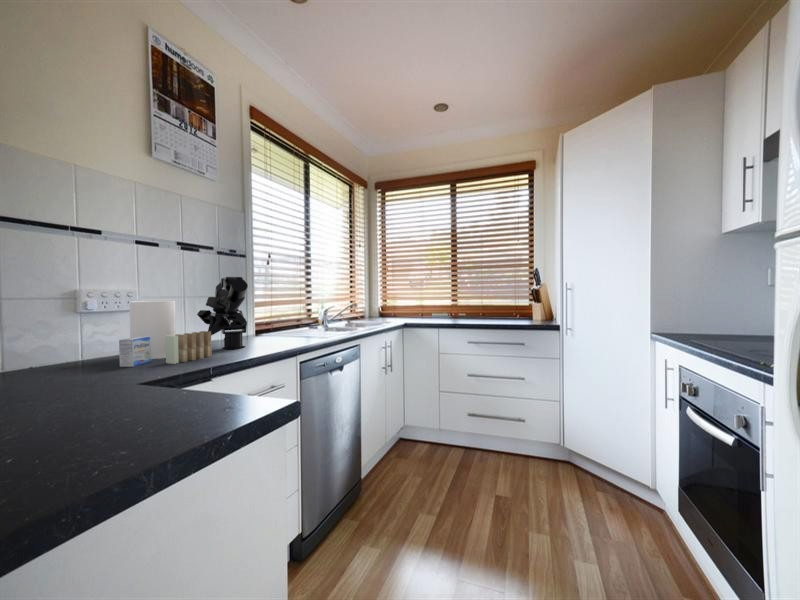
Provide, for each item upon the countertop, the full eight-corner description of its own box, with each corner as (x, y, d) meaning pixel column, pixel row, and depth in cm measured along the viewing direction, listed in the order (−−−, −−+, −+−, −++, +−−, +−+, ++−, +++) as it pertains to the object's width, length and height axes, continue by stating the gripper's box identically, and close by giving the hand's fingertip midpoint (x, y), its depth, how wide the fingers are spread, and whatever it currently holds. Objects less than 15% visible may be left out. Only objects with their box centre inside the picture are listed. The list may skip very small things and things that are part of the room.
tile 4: (179, 360, 121) (178, 334, 121) (187, 361, 120) (187, 334, 120) (175, 361, 120) (174, 334, 120) (183, 362, 119) (183, 335, 118)
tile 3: (187, 358, 124) (187, 333, 124) (196, 359, 123) (195, 333, 123) (183, 359, 123) (183, 333, 123) (192, 360, 122) (191, 334, 121)
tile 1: (203, 355, 130) (202, 331, 130) (211, 356, 129) (210, 331, 128) (200, 356, 129) (199, 331, 129) (208, 357, 128) (207, 332, 127)
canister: (176, 357, 128) (175, 301, 127) (129, 361, 120) (128, 302, 119) (175, 351, 139) (174, 300, 138) (131, 355, 131) (130, 301, 131)
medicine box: (133, 367, 111) (132, 339, 111) (119, 367, 111) (118, 339, 111) (151, 362, 119) (150, 336, 119) (138, 362, 119) (137, 336, 119)
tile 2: (195, 357, 127) (195, 332, 127) (204, 357, 126) (203, 332, 126) (192, 357, 126) (191, 332, 126) (200, 358, 125) (200, 333, 124)
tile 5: (170, 362, 118) (169, 335, 118) (178, 363, 117) (178, 335, 117) (165, 363, 117) (165, 335, 117) (174, 364, 116) (174, 336, 115)
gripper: (201, 289, 137) (174, 320, 127) (239, 289, 131) (215, 322, 121) (217, 308, 145) (194, 339, 135) (255, 309, 138) (233, 341, 128)
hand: (208, 335), depth 129 cm, fingers closed
